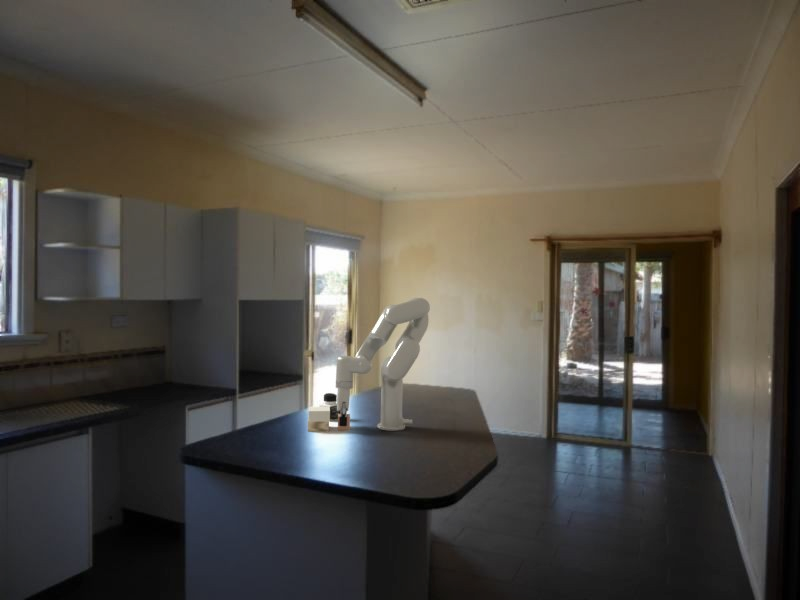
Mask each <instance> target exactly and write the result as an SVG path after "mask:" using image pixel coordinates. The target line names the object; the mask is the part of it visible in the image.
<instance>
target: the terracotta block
mask: <svg viewBox="0 0 800 600" xmlns="http://www.w3.org/2000/svg"><path fill="white" fill-rule="evenodd" d="M339 419H340V414H338V420H337V430H338V431H350V430H351V429H350V428H351V425H350V424H351V423H350V422H351V414H350V413H347V426H339Z"/></svg>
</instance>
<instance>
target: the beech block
mask: <svg viewBox="0 0 800 600" xmlns="http://www.w3.org/2000/svg"><path fill="white" fill-rule="evenodd" d="M307 418H308V419H307V432H308V433H310V432H312V433H313V432H315V433H316V432H319V433H321V432H329V431H330V422H329V421H326V422H308V421H309V416H308V417H307Z"/></svg>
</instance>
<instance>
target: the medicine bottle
mask: <svg viewBox="0 0 800 600" xmlns="http://www.w3.org/2000/svg"><path fill="white" fill-rule="evenodd" d="M319 407H330V422H332V421H333V422H334V421H338V414H339V412H340V411H337V394H336V393H335V392H334V393H333V392H332V393H331V392H329V393H328V392H327V393H325V394H324V395H323V403H320V404H319Z"/></svg>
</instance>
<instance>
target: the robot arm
mask: <svg viewBox="0 0 800 600" xmlns="http://www.w3.org/2000/svg"><path fill="white" fill-rule="evenodd" d="M430 311H431V305H430V302H429V301H428V300H427V299H426V298H423V297H413V298H411V299H410V300H407V301H405V302H401V303H398V304H397V303H396V304H389V305H387V306H386V307H385V308H384V309H383V311H382V313H380V316H379V318H378V319H377V321H376V323H375V325H374V326H373V328H372V329H371V331H370V332H369V334H368V335H367V337H366V339H365V340H363V343H362V345H361V346H360V348H359V350H358V351H357V352H356V355H355V356H354V357H353V356H350V355H339V356H338V357H337V359H336V373H335V375H336V376H335V388H336V389H337V394H336V395H337V402H336V403H337V411H340V412H339V414H340V419H339V426H347V414H348V411H349V407H350V397H351V396H350V395H351V389H353V388H354V374H357V375H359V374H360V375H366V374H369V373H370V372H371V370H372V369H373V364H372V360H373V359H374V357H375V355H377V353H378V351H380V349H381V348H382V347H384V346H385V345H386V344H387V343H388V341H389V340H390V338H391V336H392V334H393V333H394V331H395V329H396V328H397V326H398V325H402V324H404V323H407V326H406V328H405V330H404V331H403V332H402V334H401V335H400V336H399V338H398V340H397V341H396V343H395V348H394V349H395V351H394V353H393V354H392V355H391V356H388V357H386V358H385V359H383V361H382V362H381V365H380V378H381V379H380V380H381V388H380V391H381V392H380V422H379V423H377V425H376V428H377V429H379V430H382V431H388V432H389V431H391V432H392V431H393V432H396V431H402V430H405V429H406V425H413V419H409V418H404V417H403V393H404V390H403V389H404V388H403V387H404V382H403V381H404V378H405V377H406V375H407V374H408V373H409V372H410V370H411V368H412V367H413V365H414V364H415V361H416V360H417V359H418V357H419V355H420V352H421V346H420V343H421V341H422V340H423V337H424V336H425V334H426V332H427V330H428V327H429V322H430V321H429V313H430Z"/></svg>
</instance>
